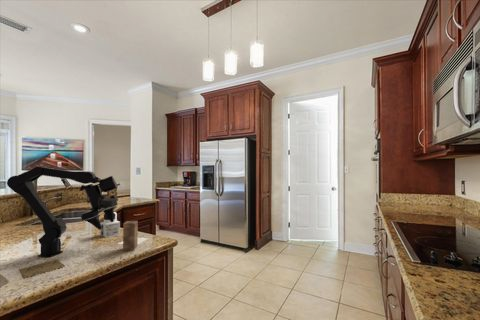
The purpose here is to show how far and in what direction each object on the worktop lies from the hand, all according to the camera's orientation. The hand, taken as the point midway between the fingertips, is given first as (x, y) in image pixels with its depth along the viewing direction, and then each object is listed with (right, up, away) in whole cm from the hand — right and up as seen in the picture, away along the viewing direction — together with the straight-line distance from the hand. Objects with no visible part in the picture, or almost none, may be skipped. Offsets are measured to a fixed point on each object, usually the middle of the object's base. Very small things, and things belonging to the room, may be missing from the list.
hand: (106, 225), depth 109 cm
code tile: (+9, -11, +9) cm, 17 cm away
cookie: (-12, -11, -22) cm, 27 cm away
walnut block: (+13, -11, -3) cm, 17 cm away
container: (-10, -12, +20) cm, 26 cm away
